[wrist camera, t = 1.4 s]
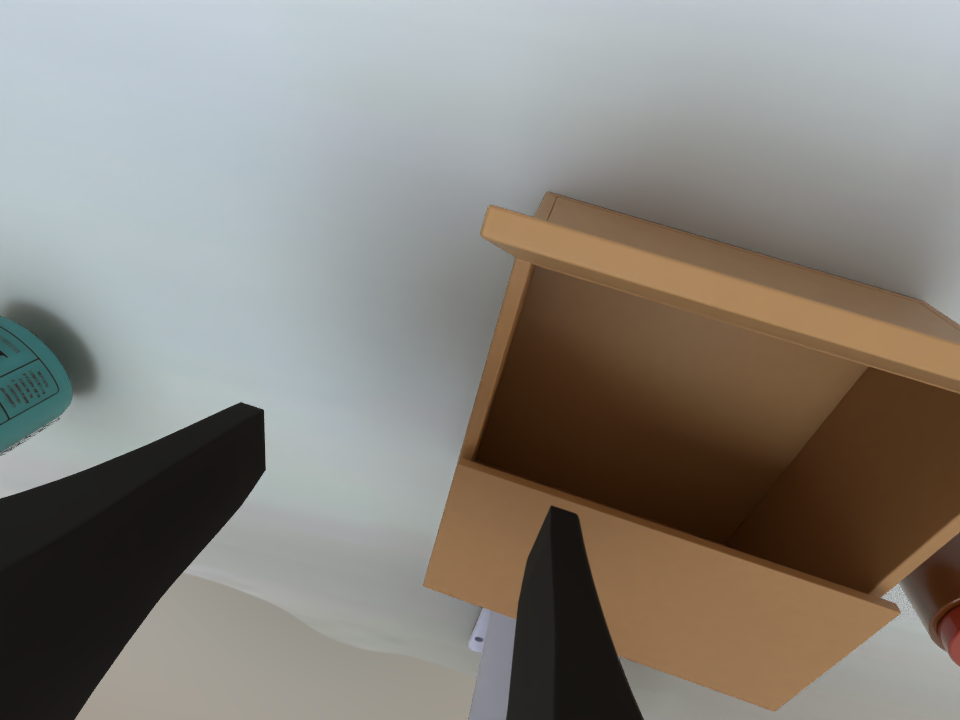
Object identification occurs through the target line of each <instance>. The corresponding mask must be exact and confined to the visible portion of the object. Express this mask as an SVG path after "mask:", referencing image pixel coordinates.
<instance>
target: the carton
mask: <svg viewBox="0 0 960 720" xmlns="http://www.w3.org/2000/svg"><path fill="white" fill-rule="evenodd" d="M534 217H535V218H538V219H541V220H545V221H548V222H552V223H555V224H558V225H562V226H565V227H568V228H572V229H575V230H579V231H582V232H585V233H589V234H592V235H595V236H599V237H602V238H606V239H609V240H612V241H616V242H619V243H622V244H626V245H629V246H633V247H636V248H639V249H643V250H646V251H649V252H653V253H656V254H660V255H663V256H666V257H670V258H673V259H677V260H680V261H683V262H687V263H690V264H693V265H697V266H700V267H704V268H707V269H710V270H714V271H717V272H720V273H724V274H727V275H731V276H734V277H737V278H741V279H744V280H747V281H751V282H754V283H758V284H761V285H764V286H768V287H771V288H774V289H778V290H781V291H785V292H788V293H791V294H795V295H798V296H801V297H805V298H808V299H812V300H815V301H818V302H822V303H825V304H828V305H832V306H835V307H839V308H842V309H845V310H849V311H852V312H855V313H859V314H862V315H866V316H869V317H872V318H876V319H879V320H882V321H886V322H889V323H893V324H896V325H899V326H903V327H906V328H910V329H913V330H916V331H920V332H923V333H926V334H930V335H933V336H937V337H940V338H943V339H947V340H950V341H953V342H957V343H960V325H959V324H957V323H956V322H954V321H953V320H951V319H950V318H948V317H947V316H945V315H944V314H942V313H941V312H939V311H938V310H936V309H935V308H933V307H932V306H930V305H929V304H927V303H926V302H924V301H921V300H917V299H914V298H910V297H907V296H903V295H900V294H897V293H893V292H890V291H886V290H883V289H879V288H876V287H873V286H869V285H866V284H862V283H859V282H855V281H852V280H849V279H845V278H842V277H838V276H835V275H831V274H828V273H825V272H821V271H818V270H814V269H811V268H807V267H804V266H801V265H797V264H794V263H790V262H787V261H783V260H780V259H777V258H773V257H770V256H766V255H763V254H760V253H756V252H753V251H749V250H746V249H742V248H739V247H736V246H732V245H729V244H725V243H722V242H718V241H715V240H712V239H708V238H705V237H701V236H698V235H694V234H691V233H688V232H684V231H681V230H677V229H674V228H670V227H667V226H664V225H660V224H657V223H653V222H650V221H646V220H643V219H640V218H636V217H633V216H629V215H626V214H622V213H619V212H616V211H612V210H609V209H605V208H602V207H598V206H595V205H592V204H588V203H585V202H581V201H578V200H574V199H571V198H568V197H564V196H561V195H557V194H554V193H550V192H546V194H545V196H544V198H543V200H542V202H541V204H540V206H539V208H538V209H537V211H536V213H535V215H534ZM551 505H552V506H555V507H558V508H561V509H564V510H567V511H570V512H573V513H576V514H577V515H578V517H579V519H580V525H581V530H582V535H583V540H584V544H585V549H586V553H587V557H588V561H589V565H590V569H591V573H592V577H593V580H594V584H595V587H596V591H597V594H598V597H599V601H600V604H601V607H602V610H603V614H604V617H605V620H606V623H607V626H608V629H609V632H610V635H611V638H612V641H613V643H614V646H615V649H616V652H617V655H618V656H620V657H623V658H626V659H629V660H631V661H634V662H637V663H640V664H643V665H645V666H648V667H651V668H654V669H657V670H659V671H662V672H665V673H668V674H671V675H673V676H676V677H679V678H682V679H685V680H687V681H690V682H693V683H696V684H699V685H701V686H704V687H707V688H710V689H713V690H715V691H718V692H721V693H724V694H727V695H729V696H732V697H735V698H738V699H741V700H743V701H746V702H749V703H752V704H755V705H757V706H760V707H763V708H766V709H769V710H771V711H776V710H777V709H779V708H780V707H781V706H782V705H784V704H785V703H786V702H788V701H789V700H790V699H791V698H793V697H794V696H795V695H797V694H798V693H799V692H800V691H802V690H803V689H804V688H805V687H807V686H808V685H809V684H811V683H812V682H813V681H814V680H816V679H817V678H818V677H820V676H821V675H822V674H823V673H825V672H826V671H827V670H829V669H830V668H831V667H832V666H834V665H835V664H836V663H838V662H839V661H840V660H841V659H843V658H844V657H845V656H847V655H848V654H849V653H850V652H852V651H853V650H854V649H856V648H857V647H858V646H859V645H861V644H862V643H863V642H865V641H866V640H867V639H868V638H870V637H871V636H872V635H874V634H875V633H876V632H877V631H879V630H880V629H881V628H883V627H884V626H885V625H886V624H888V623H889V622H890V621H891V620H893V619H894V618H895V617H897V616H898V615H899V614H900V613H901V612H900V610H899V608H898V606H897V605H896V604H895V603H893V602H890V601H887V600H884V599H881V597H882V596H883V595H885V594H886V593H887V592H888V591H889V590H891V589H892V588H893V587H894V586H895V585H897V584H898V583H899V582H900V581H901V580H903V579H904V578H905V577H906V576H907V575H909V574H910V573H911V572H912V571H913V570H915V569H916V568H917V567H918V566H919V565H921V564H922V563H923V562H924V561H925V560H927V559H928V558H929V557H930V556H931V555H933V554H934V553H935V552H936V551H937V550H939V549H940V548H941V547H942V546H944V545H945V544H946V543H947V542H948V541H950V540H951V539H952V538H953V537H954V536H956V535H957V534H958V533H959V532H960V392H957V391H954V390H950V389H947V388H944V387H940V386H937V385H934V384H930V383H927V382H924V381H921V380H917V379H914V378H911V377H907V376H904V375H901V374H897V373H894V372H891V371H888V370H884V369H881V368H878V367H874V366H871V365H868V364H864V363H861V362H858V361H855V360H851V359H848V358H845V357H841V356H838V355H835V354H831V353H828V352H825V351H822V350H818V349H815V348H812V347H808V346H805V345H802V344H798V343H795V342H792V341H789V340H785V339H782V338H779V337H775V336H772V335H769V334H765V333H762V332H759V331H756V330H752V329H749V328H746V327H742V326H739V325H736V324H732V323H729V322H726V321H723V320H719V319H716V318H713V317H709V316H706V315H703V314H699V313H696V312H693V311H689V310H686V309H683V308H680V307H676V306H673V305H670V304H666V303H663V302H660V301H656V300H653V299H650V298H647V297H643V296H640V295H637V294H633V293H630V292H627V291H623V290H620V289H617V288H614V287H610V286H607V285H604V284H600V283H597V282H594V281H590V280H587V279H584V278H581V277H577V276H574V275H571V274H567V273H564V272H561V271H557V270H554V269H551V268H548V267H544V266H541V265H538V264H534V263H531V262H528V261H524V260H521V259H518V258H515V261H514V265H513V268H512V272H511V275H510V279H509V282H508V286H507V290H506V293H505V297H504V300H503V304H502V307H501V311H500V314H499V318H498V321H497V325H496V328H495V332H494V336H493V339H492V343H491V346H490V350H489V353H488V357H487V360H486V364H485V367H484V371H483V374H482V378H481V382H480V385H479V389H478V392H477V396H476V399H475V403H474V406H473V410H472V413H471V417H470V420H469V424H468V428H467V431H466V435H465V438H464V442H463V445H462V449H461V452H460V456H459V459H458V463H457V466H456V470H455V473H454V477H453V481H452V484H451V488H450V491H449V495H448V498H447V502H446V505H445V509H444V512H443V516H442V519H441V523H440V527H439V530H438V534H437V537H436V541H435V544H434V548H433V551H432V555H431V558H430V562H429V565H428V569H427V573H426V576H425V580H424V584H423V586H424V587H427V588H429V589H432V590H435V591H438V592H441V593H443V594H446V595H449V596H452V597H455V598H457V599H460V600H463V601H466V602H469V603H471V604H474V605H477V606H480V607H483V608H486V609H488V610H491V611H494V612H497V613H500V614H502V615H505V616H508V617H511V618H514V619H516V618H517V609H518V601H519V596H520V591H521V586H522V581H523V576H524V571H525V567H526V562H527V558H528V556H529V554H530V551H531V549H532V547H533V545H534V542H535V540H536V538H537V536H538V533H539V531H540V529H541V527H542V524H543V522H544V520H545V517H546V515H547V513H548V511H549V508H550V506H551Z"/></svg>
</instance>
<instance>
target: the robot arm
mask: <svg viewBox="0 0 960 720" xmlns="http://www.w3.org/2000/svg"><path fill="white" fill-rule="evenodd" d="M265 470H266V466H265V432H264V410H263V409H260V408H257V407H254V406H251V405H248V404H244V403H238V404H236V405H234V406H231V407H229V408H227V409H225V410H222V411H220V412H218V413H216V414H214V415H212V416H209V417H207V418H205V419H203V420H201V421H199V422H196V423H194V424H192V425H190V426H188V427H186V428H184V429H181V430H179V431H177V432H175V433H172V434H170V435H168V436H166V437H163V438H161V439H159V440H157V441H155V442H152V443H150V444H148V445H146V446H143V447H141V448H139V449H136V450H134V451H131V452H129V453H126V454H124V455H121V456H119V457H116V458H114V459H112V460H109V461H107V462H104V463H102V464H99V465H97V466H94V467H92V468H89V469H87V470H84V471H82V472H79V473H76V474H73V475H71V476H68V477H65V478H62V479H60V480H57V481H54V482H51V483H48V484H45V485H42V486H39V487H36V488H33V489H30V490H27V491H24V492H21V493H18V494H14V495H11V496H8V497H4V498H1V499H0V720H74V719H75V718H76V716H77V715H78V713H79V712H80V710H81V709H82V707H83V706H84V704H85V703H86V701H87V700H88V698H89V697H90V695H91V694H92V692H93V691H94V689H95V688H96V687H97V685H98V684H99V682H100V681H101V679H102V678H103V677H104V675H105V674H106V672H107V671H108V670H109V668H110V667H111V665H112V664H113V662H114V661H115V659H116V658H117V657H118V655H119V654H120V652H121V651H122V650H123V648H124V646H125V645H126V644H127V643H128V641H129V640H130V639H131V637H132V636H133V634H134V633H135V632H136V630H137V629H138V628H139V626H140V625H141V624H142V622H143V621H144V620H145V618H146V617H147V615H148V614H149V613H150V611H151V610H152V608H153V607H154V606H155V604H156V603H157V602H158V601H159V600H160V598H161V597H162V596H163V595H164V594H165V592H166V591H167V590H168V589H169V587H170V586H171V585H172V584H173V583H174V582H175V580H176V579H177V578H178V577H179V576H180V575H181V574H182V573H183V571H184V570H185V569H186V568H187V567H188V566H189V565H190V564H191V562H192V561H193V560H194V559H195V558H196V557H197V556H198V555H199V553H200V552H201V551H202V550H203V549H204V548H205V547H206V545H207V544H208V543H209V542H210V541H211V540H212V539H213V538H214V536H215V535H216V534H217V533H218V532H219V531H220V530H221V528H222V527H223V526H224V525H225V524H226V523H227V522H228V520H229V519H230V518H231V517H232V516H233V515H234V513H235V512H236V511H237V510H238V509H239V508H240V506H241V505H242V504H243V502H244V501H245V499H246V498H247V497H248V495H249V494H250V492H251V491H252V490H253V488H254V487H255V485H256V484H257V482H258V480H259V479H260V477H261V476H262V474H263V473H264V471H265ZM468 646H469V648H470V649H471V650H473V651H475V652H478V653H481V654H482V656H481V661H480V666H479V670H478V675H477V680H476V685H475V689H474V694H473V699H472V704H471V708H470V713H469V718H468V720H644V719H643V717H642V714H641V712H640V710H639V707H638V705H637V703H636V700H635V698H634V696H633V693H632V691H631V688H630V686H629V683H628V681H627V678H626V676H625V673H624V671H623V668H622V665H621V663H620V656H618V655H617V652H616V649H615V646H614V643H613V641H612V638H611V635H610V632H609V629H608V626H607V623H606V620H605V617H604V614H603V610H602V607H601V604H600V601H599V597H598V594H597V591H596V587H595V584H594V580H593V577H592V573H591V569H590V565H589V561H588V557H587V553H586V549H585V544H584V540H583V535H582V530H581V525H580V519H579V517H578V515H577V514H576V513H573V512H570V511H567V510H564V509H561V508H558V507H555V506H552V505H551V506H550V508H549V511H548V513H547V515H546V517H545V520H544V522H543V524H542V527H541V529H540V531H539V533H538V536H537V538H536V540H535V542H534V545H533V547H532V549H531V551H530V554H529V556H528V558H527V562H526V567H525V571H524V576H523V581H522V586H521V591H520V596H519V601H518V609H517V618H516V619H514V618H511V617H508V616H505V615H502V614H500V613H497V612H494V611H491V610H488V609H486V608H482V610H481V613H480V615H479V617H478V620H477V622H476V625H475V627H474V629H473V632H472V634H471V637H470V639H469V643H468Z"/></svg>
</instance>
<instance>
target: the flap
mask: <svg viewBox="0 0 960 720" xmlns="http://www.w3.org/2000/svg"><path fill="white" fill-rule="evenodd" d="M480 234H481V237H483V238H484V239H486V240H487V241H489V242H491V243H492V244H494V245H496V246H497V247H499V248H501V249H502V250H504V251H506V252H507V253H509V254H511V255H513V256H514V257H516V258H518V259H521V260H524V261H528V262H531V263H534V264H538V265H541V266H544V267H548V268H551V269H554V270H557V271H561V272H564V273H567V274H571V275H574V276H577V277H581V278H584V279H587V280H590V281H594V282H597V283H600V284H604V285H607V286H610V287H614V288H617V289H620V290H623V291H627V292H630V293H633V294H637V295H640V296H643V297H647V298H650V299H653V300H656V301H660V302H663V303H666V304H670V305H673V306H676V307H680V308H683V309H686V310H689V311H693V312H696V313H699V314H703V315H706V316H709V317H713V318H716V319H719V320H723V321H726V322H729V323H732V324H736V325H739V326H742V327H746V328H749V329H752V330H756V331H759V332H762V333H765V334H769V335H772V336H775V337H779V338H782V339H785V340H789V341H792V342H795V343H798V344H802V345H805V346H808V347H812V348H815V349H818V350H822V351H825V352H828V353H831V354H835V355H838V356H841V357H845V358H848V359H851V360H855V361H858V362H861V363H864V364H868V365H871V366H874V367H878V368H881V369H884V370H888V371H891V372H894V373H897V374H901V375H904V376H907V377H911V378H914V379H917V380H921V381H924V382H927V383H930V384H934V385H937V386H940V387H944V388H947V389H950V390H954V391H957V392H960V343H957V342H953V341H950V340H947V339H943V338H940V337H937V336H933V335H930V334H926V333H923V332H920V331H916V330H913V329H910V328H906V327H903V326H899V325H896V324H893V323H889V322H886V321H882V320H879V319H876V318H872V317H869V316H866V315H862V314H859V313H855V312H852V311H849V310H845V309H842V308H839V307H835V306H832V305H828V304H825V303H822V302H818V301H815V300H812V299H808V298H805V297H801V296H798V295H795V294H791V293H788V292H785V291H781V290H778V289H774V288H771V287H768V286H764V285H761V284H758V283H754V282H751V281H747V280H744V279H741V278H737V277H734V276H731V275H727V274H724V273H720V272H717V271H714V270H710V269H707V268H704V267H700V266H697V265H693V264H690V263H687V262H683V261H680V260H677V259H673V258H670V257H666V256H663V255H660V254H656V253H653V252H649V251H646V250H643V249H639V248H636V247H633V246H629V245H626V244H622V243H619V242H616V241H612V240H609V239H606V238H602V237H599V236H595V235H592V234H589V233H585V232H582V231H579V230H575V229H572V228H568V227H565V226H562V225H558V224H555V223H552V222H548V221H545V220H541V219H538V218H535V217H531V216H528V215H525V214H521V213H518V212H514V211H511V210H508V209H504V208H501V207H498V206H494V205H489V207H488V208H487V212H486V215H485V219H484V222H483V225H482V229H481V232H480Z"/></svg>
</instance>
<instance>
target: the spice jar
mask: <svg viewBox="0 0 960 720" xmlns="http://www.w3.org/2000/svg"><path fill="white" fill-rule="evenodd" d="M899 585H900V587H901V588H902V590H903V592H904V593H905V595H906V597H907V598H908V600H909V602H910V603H911V605H912V607H913V608H914V610H915V612H916V614H917V615H918V617H919V619H920V620H921V622H922V624H923V625H924V627H925V629H926V630H927V632H928V634H929V635H930V637H931V639H932V640H933V641H934V643H936V644H937V645H938V646H939V647H940V648H942V649H943V650H945V651H946V652H947V653H948V654H949V656H950V657H951V659H952V660H953V661H954V662H955V663H956V664H957V665H958V666H960V532H959V533H958V534H957V535H956V536H954V537H953V538H952V539H951V540H950V541H948V542H947V543H946V544H945V545H944V546H942V547H941V548H940V549H939V550H937V551H936V552H935V553H934V554H933V555H931V556H930V557H929V558H928V559H927V560H925V561H924V562H923V563H922V564H921V565H919V566H918V567H917V568H916V569H915V570H913V571H912V572H911V573H910V574H909V575H907V576H906V577H905V578H904V579H903V580H901V581H900V582H899Z"/></svg>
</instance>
